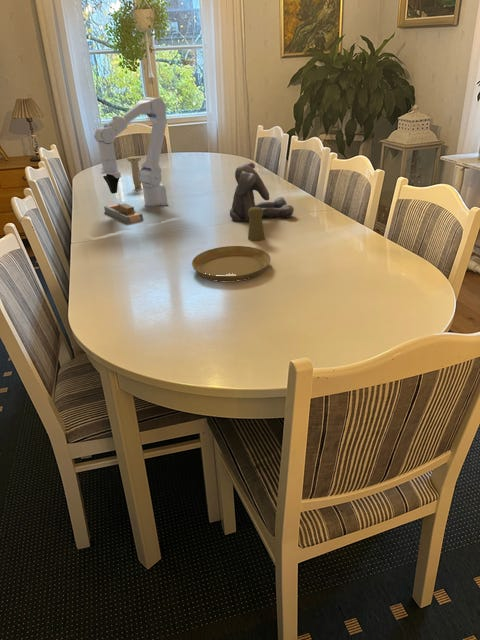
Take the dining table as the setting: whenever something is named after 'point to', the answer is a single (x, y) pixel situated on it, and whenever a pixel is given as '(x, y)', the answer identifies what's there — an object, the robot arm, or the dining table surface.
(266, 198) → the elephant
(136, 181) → the handle
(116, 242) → the dining table surface
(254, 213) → the cork
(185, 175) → the dining table surface
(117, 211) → the rail
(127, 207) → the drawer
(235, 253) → the plant saucer
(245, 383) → the dining table surface
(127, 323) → the dining table surface
